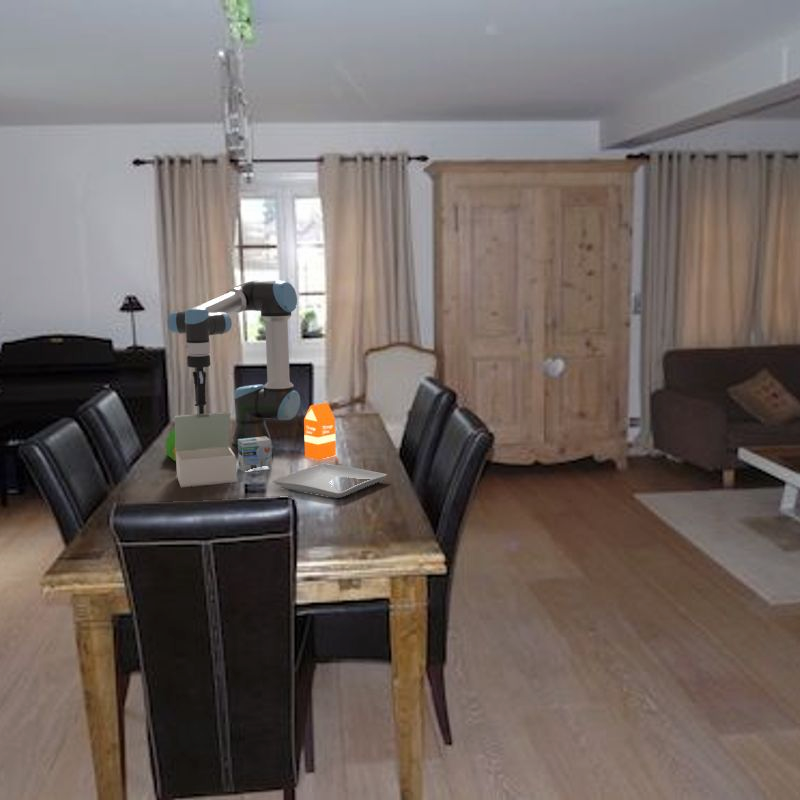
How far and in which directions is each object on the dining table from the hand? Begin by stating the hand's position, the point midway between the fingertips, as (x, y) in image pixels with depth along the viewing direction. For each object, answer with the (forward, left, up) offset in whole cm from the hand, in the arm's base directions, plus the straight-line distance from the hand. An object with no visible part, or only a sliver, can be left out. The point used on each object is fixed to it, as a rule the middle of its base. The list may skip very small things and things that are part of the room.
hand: (201, 423), depth 275 cm
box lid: (0, +1, -2) cm, 3 cm away
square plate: (-37, +28, -19) cm, 50 cm away
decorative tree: (+4, -31, -18) cm, 36 cm away
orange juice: (-44, -12, -18) cm, 49 cm away
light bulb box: (-18, -3, -18) cm, 26 cm away
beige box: (0, +5, -18) cm, 19 cm away
